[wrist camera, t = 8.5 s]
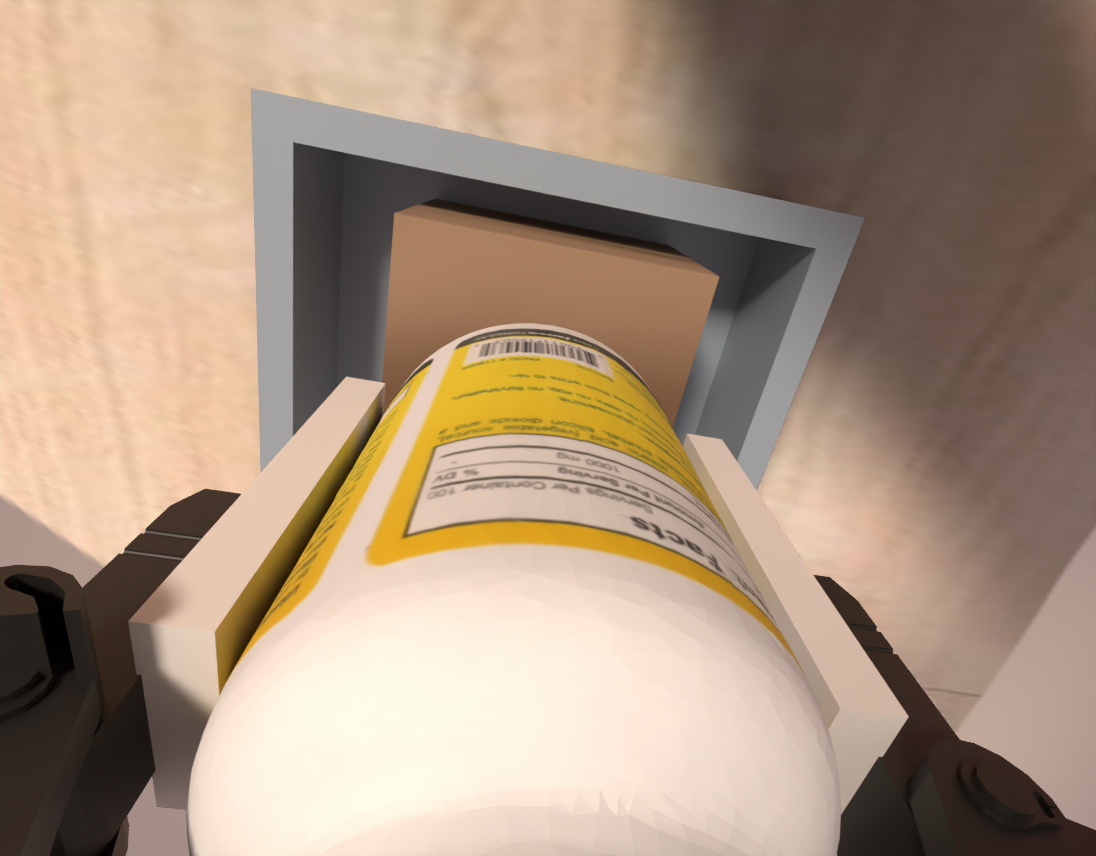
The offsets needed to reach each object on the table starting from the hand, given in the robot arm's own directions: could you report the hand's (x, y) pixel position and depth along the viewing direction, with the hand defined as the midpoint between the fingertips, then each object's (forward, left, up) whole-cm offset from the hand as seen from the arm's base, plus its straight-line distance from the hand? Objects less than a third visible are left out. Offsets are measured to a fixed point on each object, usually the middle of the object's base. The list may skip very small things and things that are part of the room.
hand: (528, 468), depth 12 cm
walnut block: (0, 0, -10) cm, 10 cm away
